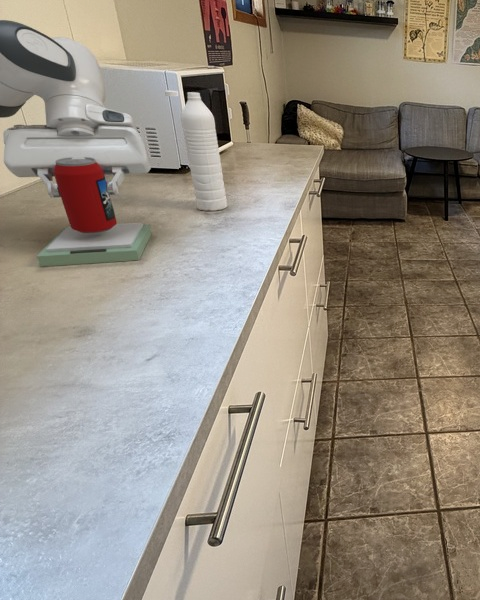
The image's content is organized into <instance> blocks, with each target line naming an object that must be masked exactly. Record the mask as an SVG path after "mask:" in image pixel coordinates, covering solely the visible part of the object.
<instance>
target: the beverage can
mask: <svg viewBox="0 0 480 600" xmlns="http://www.w3.org/2000/svg"><path fill="white" fill-rule="evenodd" d="M72 158H73V157H71V158H63V159H58V160H56V161H55V162H56V165H55V168H54V171H53V173H54V176H53V177H54V179H55V182H56V183H55V184H57V186H58V189H59V192H60V196H61V197H60V199H61V202H62V205H63V208H64V212H65V213H66V217H67V220H68V223H69V226H71V228H72V229H73V230H76V231H79V232H81V233H87V234H91V233H100V232H105V231H108V230H110V229H111V228H112V227H113V226H115V225H116V224H118V221H117V218H116V213H115V210H114V206H113V202H112V199H111V195H109V194H108V193H107V190H106V187H107V186H106V182H107V179H106V175H104V172H103V169H102V168H101V167H100V165H99V164H98V163H97V162H96V161H95V159H94V158H89V157H84V158H85V159H72Z"/></svg>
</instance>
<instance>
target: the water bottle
mask: <svg viewBox="0 0 480 600" xmlns="http://www.w3.org/2000/svg"><path fill="white" fill-rule="evenodd" d="M164 96H166V97H179V96H180V95H179V91H178V90H169V89H168V90H164ZM180 121H181V125H182V131H183V136H184V143H185V147H186V151H187V152H186V153H187V160H188V162H189V170H190V172H191V173H190V176H191V178H192V179H191V181H192V187H193V192H194V196H195V204H196V208H197V209H198V210H201V211H204V212H208V211H210V212H215V211H218V210H219V211H221V210H225V209H226V208H227V207H228V199H227V196H226V189H225V182H224V174H223V169H222V163H221V153H220V151H219V150H220V149H219V144H218V141H219V140H218V136H217V129H216V122H215V121H216V120H215V116H214V115H213V113H212V112H211V110H210V109H209V108H208V107H207V105H206V104H205V103H204V102H203V100H202V96H201V93H200V92H195V91H191V92H190V91H188V92H187V101H186V103H185V105H184V107H183V109H182V111H181V113H180Z"/></svg>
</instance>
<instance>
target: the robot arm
mask: <svg viewBox="0 0 480 600" xmlns="http://www.w3.org/2000/svg"><path fill="white" fill-rule="evenodd" d="M99 64H100V63H99V62H98V60H97V59H96V56H95V55H94V53H93V52H92V51H91V50H90V49H89V48H88V47H87V46H85V45H84V44H82V43H80V42H79V41H76V40H75V39H73V38H68V37H63V36H55V37H51V36H48V35H47V34H45V33H43V32H41V31H39V30H37V29H35V28H33V27H31V26H29V25H27V24H24V23H21V22H18V21H13V20H7V19H0V119H1V118H3V119H6V118H10V117H13V116H15V115H16V114H17V113H18V112H19V111H20V109H22V107H23V106H24V105H25V104H26V103H27V102H28V101H29V100H31V98H32V97H34V96H36V97H39V98H41V99H42V100H43V102H44V113H45V124H31V125H29V124H27V125H25V124H14V125H13V126H12V127H9V128H7V129H5V130H4V131H3V135H2V137H3V144H4V149H3V164H4V165H5V167H6V169H7V170H8V171H9V172H11V174H13V175H14V176H15V177H17V178H40V180H41V181H42V182H43V184H44V185H45V186H46V189H47V195H48V196H49V197H50V198H51V199H53V198H61V196H60V192H59V189H58V186H57V183H52V182H53V181H54V177H55V176H54V173H53V171H54V168H55V165H56V162H55V161H56V160H58V159H63V158H71V157H73V158H72V159H85V158H84V157H89V158H94V159H95V161H96V162H97V163H98V164H99V165H100V167H101V168H102V169H103V172H104V176H113V177H112V179H111V180H110V181H106V186H107V187H106V190H107V193H108V194H109V195H110V196H119V195H120V193H119V191H120V190H119V187H120V186H121V185H122V183H123V182H124V181H125V175H146V174H148V173H149V172H150V170H151V169H152V165H151V161H150V157H149V155H148V152H147V148H146V146H145V143H144V140H143V138H142V136H141V134H140V133H139V130H138V127H137V125H136V122H135V121H134V118H133V117H132V116H131V115H130V114H128V113H126V112H121V111H118V110H114V109H110V108H107V107H105V100H106V89H105V82H104V76H103V73H102V70H101V67H100V65H99Z"/></svg>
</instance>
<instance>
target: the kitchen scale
mask: <svg viewBox="0 0 480 600" xmlns="http://www.w3.org/2000/svg"><path fill="white" fill-rule="evenodd" d="M152 235H153V232H152V228H151V225H150V224H144V222H128V223H117V224H116V225H115V226H113V227H112V228H111V229H110V230H108V231H105V232H100V233H91V234H87V233H81V232H79V231H76V230H73V229H72V228H71V226H70V225H67V227H65V228H62V229H61V230H60V231H59V232H58V234H56V236H54V238H53V239H51V241H50V242H49V243H48V244H47V245H46V246H45V247H44V248H43V249H42V250H41V251H40V252H39V253H38V254H37V255H36V258H37V261H38V264H39V267H43V268H44V267H54V266H55V267H56V266H57V267H58V266H70V265H72V266H73V265H85V264H86V265H87V264H103V263H117V262H130V261H131V262H132V261H139V260H140V259H141V257H142V255H143V253H144V252H145V249H146V247H147V244H148V242H149V240H150V238H151V236H152Z"/></svg>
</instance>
